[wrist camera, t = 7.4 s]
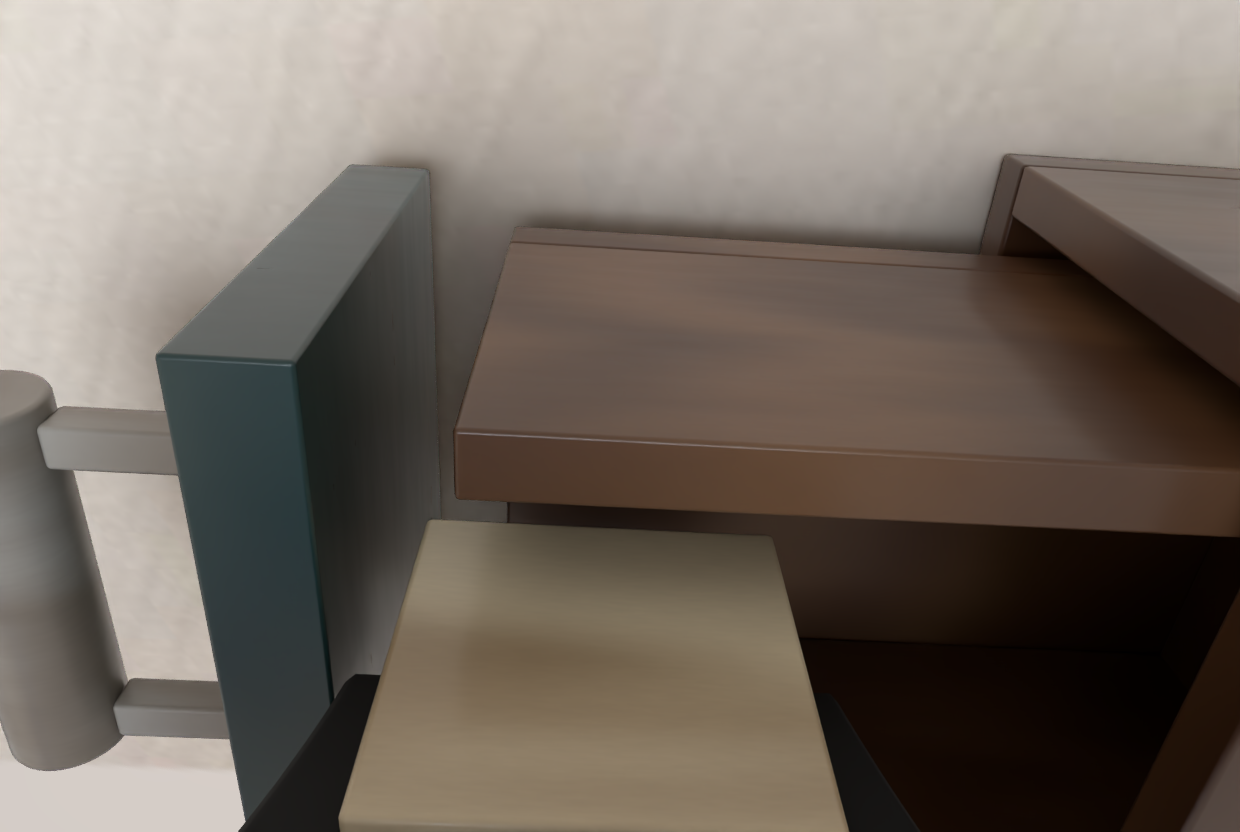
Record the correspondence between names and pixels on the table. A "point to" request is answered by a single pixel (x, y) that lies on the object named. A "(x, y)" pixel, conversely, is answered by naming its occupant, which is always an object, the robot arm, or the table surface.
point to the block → (593, 689)
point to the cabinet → (1207, 325)
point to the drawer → (665, 489)
